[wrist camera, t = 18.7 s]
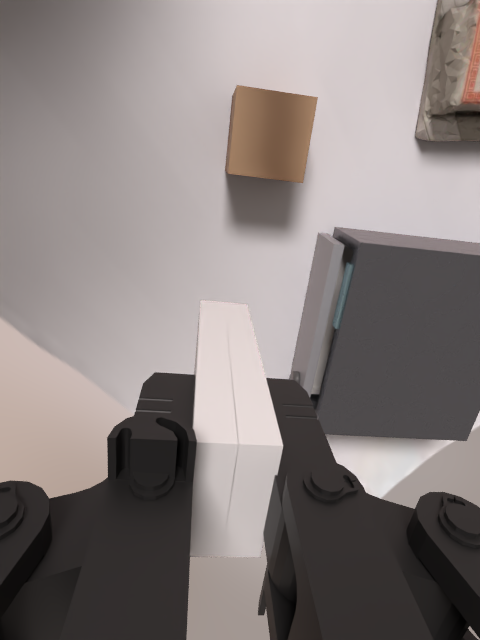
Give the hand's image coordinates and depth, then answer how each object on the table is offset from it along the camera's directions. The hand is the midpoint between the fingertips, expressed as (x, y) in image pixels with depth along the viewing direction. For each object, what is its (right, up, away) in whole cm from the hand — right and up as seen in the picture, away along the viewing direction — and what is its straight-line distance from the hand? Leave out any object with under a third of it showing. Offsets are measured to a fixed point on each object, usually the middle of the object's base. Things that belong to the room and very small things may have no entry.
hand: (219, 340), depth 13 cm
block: (+2, +14, +16) cm, 22 cm away
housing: (+15, 0, +23) cm, 27 cm away
